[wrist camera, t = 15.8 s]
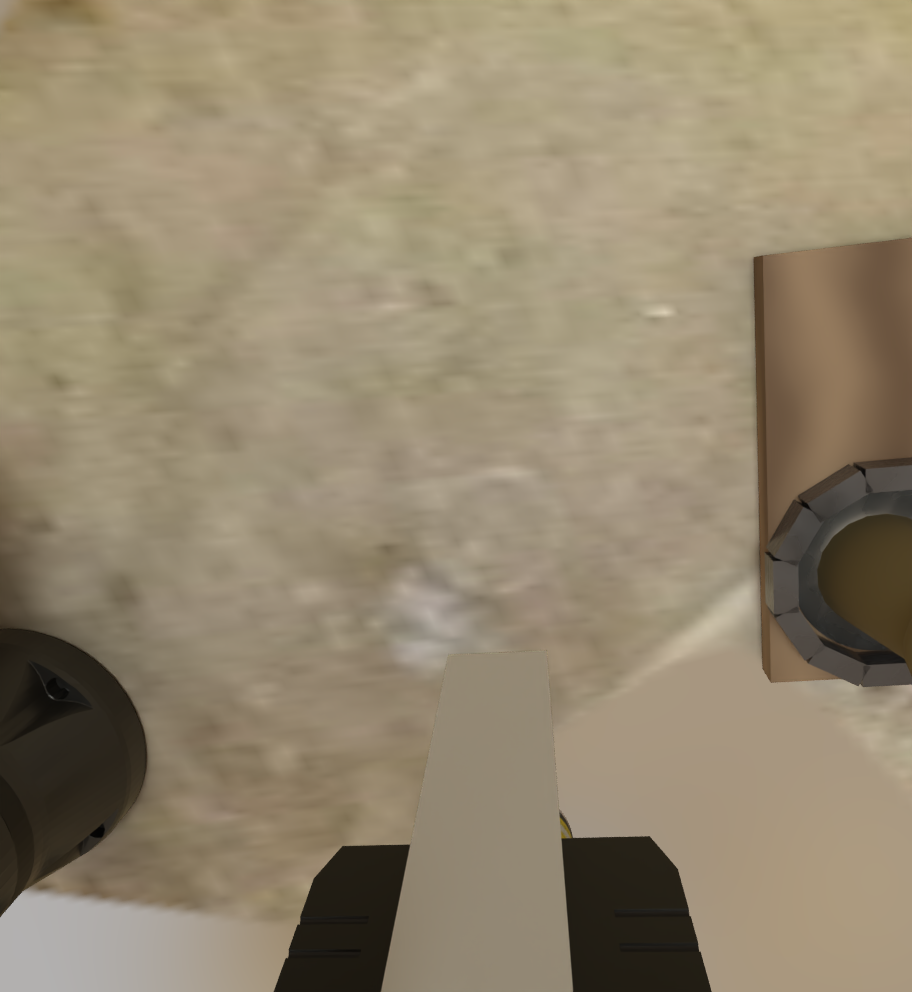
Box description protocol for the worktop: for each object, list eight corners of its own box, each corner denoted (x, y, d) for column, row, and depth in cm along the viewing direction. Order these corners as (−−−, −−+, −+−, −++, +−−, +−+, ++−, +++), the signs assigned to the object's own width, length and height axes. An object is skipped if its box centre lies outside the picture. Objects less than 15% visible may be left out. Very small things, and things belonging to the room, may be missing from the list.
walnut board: (762, 668, 43) (770, 682, 42) (753, 257, 38) (762, 255, 36) (974, 656, 42) (991, 670, 40) (996, 228, 37) (1016, 225, 35)
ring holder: (767, 677, 42) (775, 691, 40) (762, 470, 39) (771, 477, 37) (996, 665, 40) (1013, 679, 39) (1008, 449, 38) (1027, 455, 36)
